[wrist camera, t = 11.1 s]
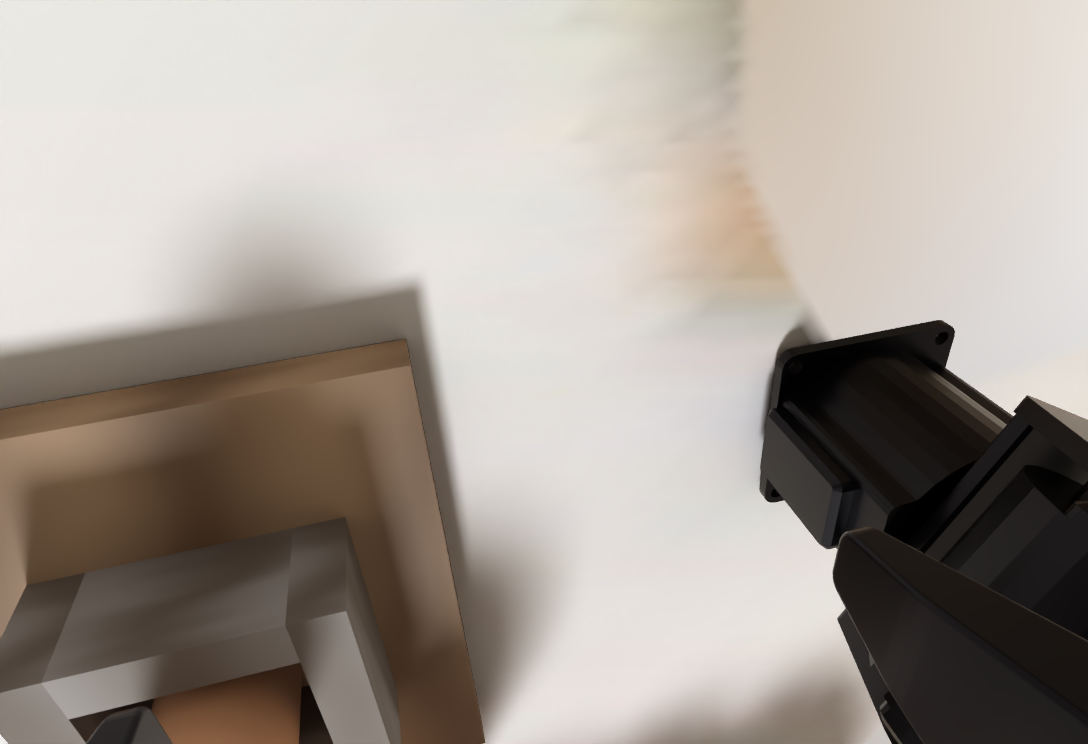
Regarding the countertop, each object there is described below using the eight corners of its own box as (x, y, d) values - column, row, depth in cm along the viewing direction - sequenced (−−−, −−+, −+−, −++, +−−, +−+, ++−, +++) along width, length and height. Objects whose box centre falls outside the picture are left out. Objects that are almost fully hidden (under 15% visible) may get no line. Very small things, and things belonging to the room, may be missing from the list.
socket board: (405, 338, 20) (422, 443, 16) (479, 708, 30) (501, 834, 25) (-157, 437, 17) (-311, 591, 13) (123, 804, 27) (84, 959, 23)
